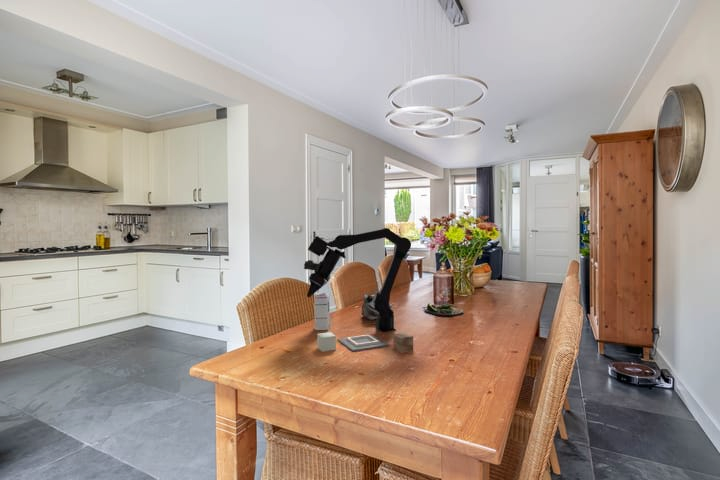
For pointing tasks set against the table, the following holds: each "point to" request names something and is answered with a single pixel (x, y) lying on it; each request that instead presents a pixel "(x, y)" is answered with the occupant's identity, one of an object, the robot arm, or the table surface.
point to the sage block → (326, 341)
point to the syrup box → (322, 311)
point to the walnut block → (403, 342)
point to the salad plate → (442, 310)
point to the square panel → (362, 342)
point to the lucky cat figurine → (369, 308)
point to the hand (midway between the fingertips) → (309, 295)
